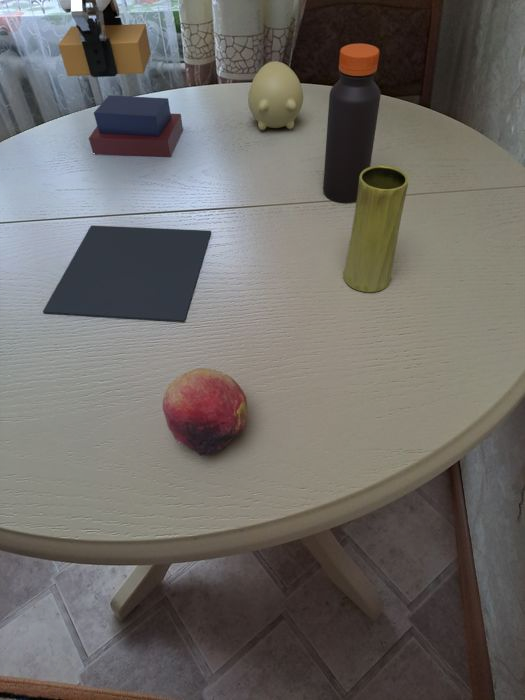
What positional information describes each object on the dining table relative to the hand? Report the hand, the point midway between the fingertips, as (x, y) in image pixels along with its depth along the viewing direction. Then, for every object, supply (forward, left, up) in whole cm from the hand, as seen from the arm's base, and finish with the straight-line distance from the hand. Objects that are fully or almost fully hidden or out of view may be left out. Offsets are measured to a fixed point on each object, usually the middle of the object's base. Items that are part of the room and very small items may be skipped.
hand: (109, 62), depth 64 cm
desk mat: (+3, -17, -20) cm, 26 cm away
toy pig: (+18, +26, -20) cm, 38 cm away
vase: (+34, -16, -20) cm, 43 cm away
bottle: (+31, +4, -20) cm, 37 cm away
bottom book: (-6, +18, -20) cm, 27 cm away
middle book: (-6, +18, -17) cm, 25 cm away
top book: (0, 0, 0) cm, 0 cm away
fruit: (+18, -41, -20) cm, 49 cm away
